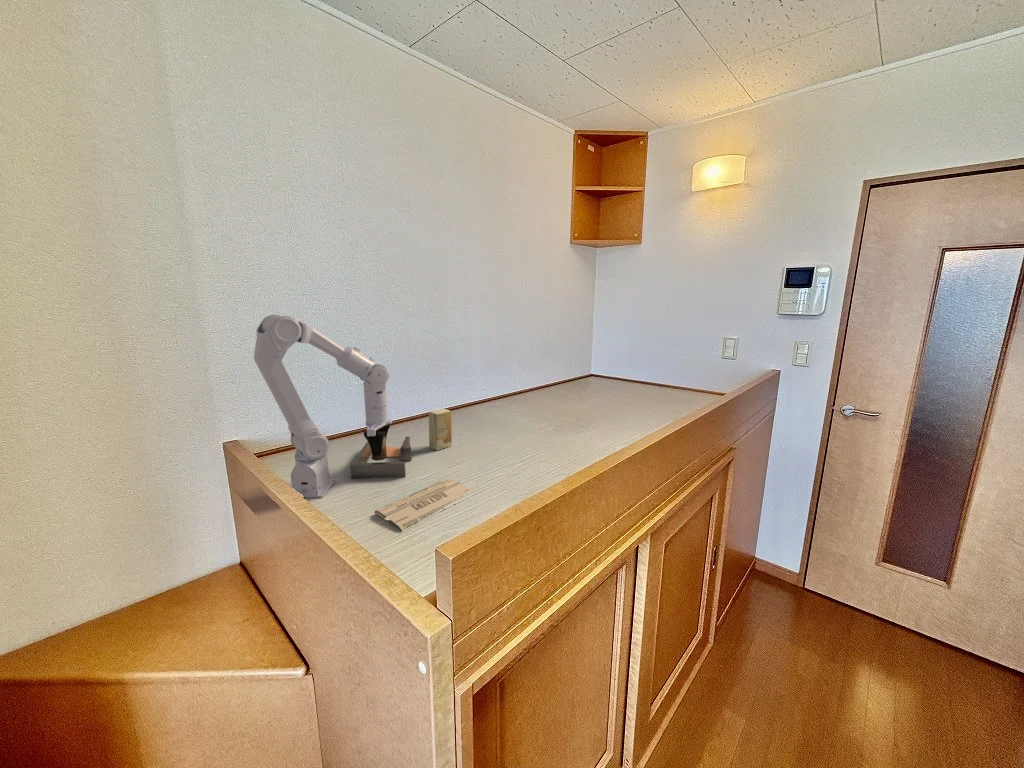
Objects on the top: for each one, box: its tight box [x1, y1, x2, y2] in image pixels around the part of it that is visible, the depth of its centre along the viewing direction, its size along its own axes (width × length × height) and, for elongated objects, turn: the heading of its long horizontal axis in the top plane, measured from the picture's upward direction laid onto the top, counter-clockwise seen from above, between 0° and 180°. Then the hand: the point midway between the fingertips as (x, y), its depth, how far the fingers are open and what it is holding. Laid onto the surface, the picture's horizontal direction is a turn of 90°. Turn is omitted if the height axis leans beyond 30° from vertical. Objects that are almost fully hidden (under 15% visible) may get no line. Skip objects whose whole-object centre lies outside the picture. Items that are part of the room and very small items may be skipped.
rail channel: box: [350, 436, 412, 480], centre depth 120 cm, size 22×14×4 cm, turn 5°
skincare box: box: [428, 408, 453, 451], centre depth 132 cm, size 6×4×12 cm
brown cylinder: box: [371, 436, 388, 462], centre depth 115 cm, size 4×4×6 cm
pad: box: [386, 446, 401, 459], centre depth 128 cm, size 8×8×1 cm
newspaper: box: [374, 478, 472, 531], centre depth 97 cm, size 23×12×2 cm, turn 139°
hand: (379, 452), depth 115 cm, fingers closed on brown cylinder, 4 cm apart
